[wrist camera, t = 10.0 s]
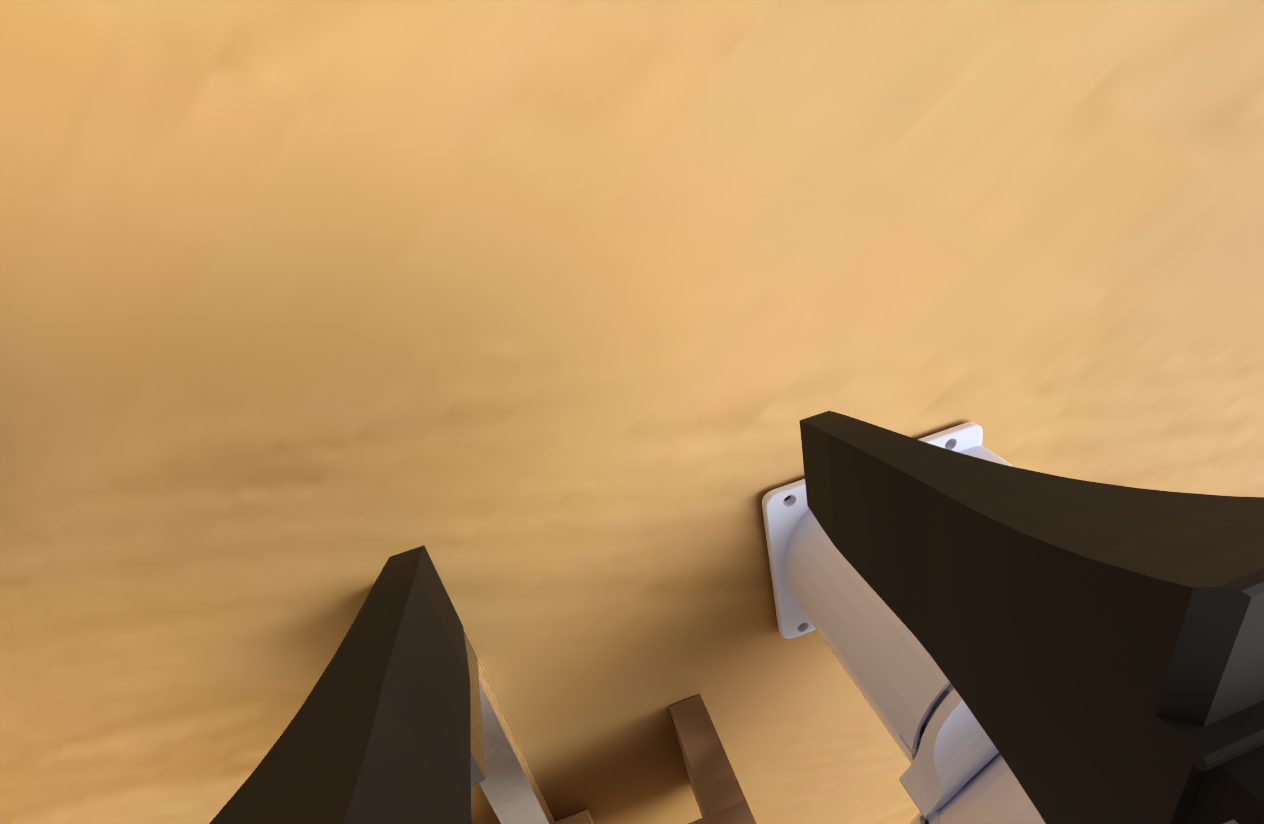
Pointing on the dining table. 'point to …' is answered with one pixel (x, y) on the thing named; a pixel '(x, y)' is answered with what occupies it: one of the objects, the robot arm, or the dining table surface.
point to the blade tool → (504, 760)
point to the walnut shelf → (708, 766)
